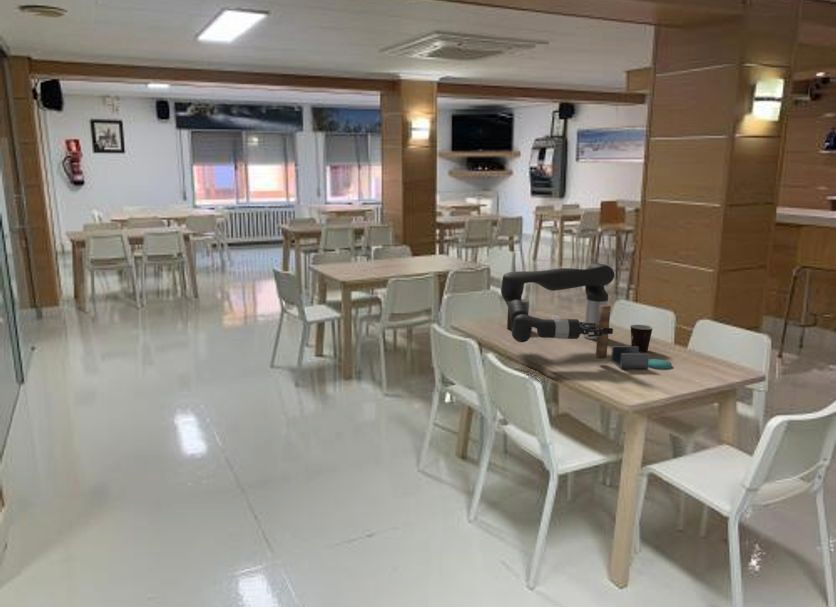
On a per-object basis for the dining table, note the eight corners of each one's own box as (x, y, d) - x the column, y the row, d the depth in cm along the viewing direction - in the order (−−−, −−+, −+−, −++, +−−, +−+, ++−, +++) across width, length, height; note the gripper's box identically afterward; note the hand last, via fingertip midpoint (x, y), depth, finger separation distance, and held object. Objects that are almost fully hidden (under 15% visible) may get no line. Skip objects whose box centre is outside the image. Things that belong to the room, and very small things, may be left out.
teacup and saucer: (541, 323, 313) (542, 315, 312) (550, 321, 318) (551, 313, 318) (557, 326, 307) (558, 318, 306) (566, 324, 313) (566, 316, 312)
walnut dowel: (594, 355, 245) (598, 305, 242) (604, 356, 246) (608, 305, 242) (597, 358, 242) (601, 307, 238) (607, 359, 242) (612, 307, 238)
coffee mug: (631, 346, 271) (633, 323, 269) (652, 349, 267) (654, 326, 265) (624, 352, 261) (626, 329, 260) (646, 356, 257) (648, 331, 255)
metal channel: (610, 360, 250) (612, 345, 249) (636, 361, 250) (637, 346, 249) (621, 369, 238) (622, 354, 237) (647, 370, 239) (649, 354, 237)
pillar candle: (508, 331, 295) (509, 299, 292) (505, 326, 304) (507, 295, 301) (529, 331, 295) (530, 299, 292) (526, 326, 304) (528, 295, 301)
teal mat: (639, 361, 249) (639, 358, 249) (665, 361, 250) (665, 359, 249) (649, 368, 240) (649, 366, 239) (675, 369, 240) (675, 366, 240)
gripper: (571, 323, 233) (617, 324, 234) (561, 315, 247) (605, 315, 248) (569, 343, 235) (616, 344, 235) (560, 333, 249) (604, 334, 249)
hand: (610, 329), depth 241 cm, fingers closed on walnut dowel, 4 cm apart
